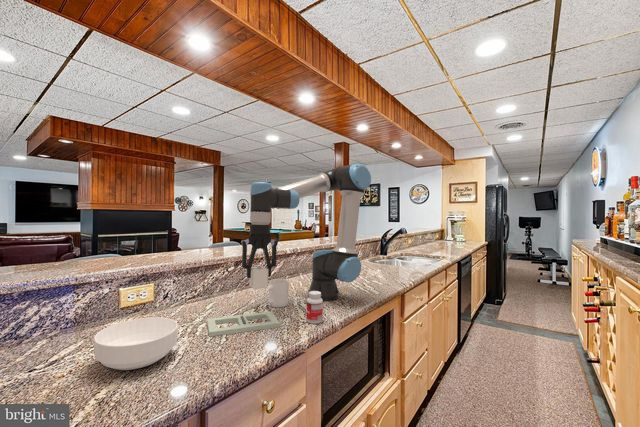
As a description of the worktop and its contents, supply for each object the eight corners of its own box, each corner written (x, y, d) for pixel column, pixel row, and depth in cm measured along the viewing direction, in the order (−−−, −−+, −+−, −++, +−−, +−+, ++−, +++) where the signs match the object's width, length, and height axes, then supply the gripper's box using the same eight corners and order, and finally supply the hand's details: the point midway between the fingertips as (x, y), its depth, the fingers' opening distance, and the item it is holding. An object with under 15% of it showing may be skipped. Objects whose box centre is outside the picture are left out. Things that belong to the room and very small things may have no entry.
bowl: (82, 387, 69) (82, 351, 69) (104, 350, 87) (105, 321, 87) (175, 371, 77) (176, 339, 77) (178, 340, 95) (179, 314, 95)
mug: (258, 306, 130) (259, 282, 130) (279, 300, 139) (280, 277, 139) (271, 311, 124) (271, 285, 124) (292, 304, 133) (292, 281, 133)
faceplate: (270, 315, 120) (270, 309, 119) (279, 327, 108) (279, 321, 108) (207, 322, 110) (207, 317, 110) (209, 336, 98) (209, 330, 98)
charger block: (263, 284, 114) (264, 265, 114) (266, 287, 109) (267, 268, 109) (250, 285, 112) (251, 266, 112) (253, 289, 107) (253, 268, 107)
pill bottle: (306, 318, 117) (307, 290, 117) (322, 318, 117) (323, 290, 117) (305, 324, 111) (306, 294, 111) (322, 324, 111) (323, 295, 111)
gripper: (280, 223, 118) (279, 282, 118) (233, 223, 110) (232, 285, 111) (286, 224, 111) (284, 286, 111) (236, 224, 104) (235, 290, 104)
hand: (258, 285), depth 111 cm, fingers closed on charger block, 5 cm apart
